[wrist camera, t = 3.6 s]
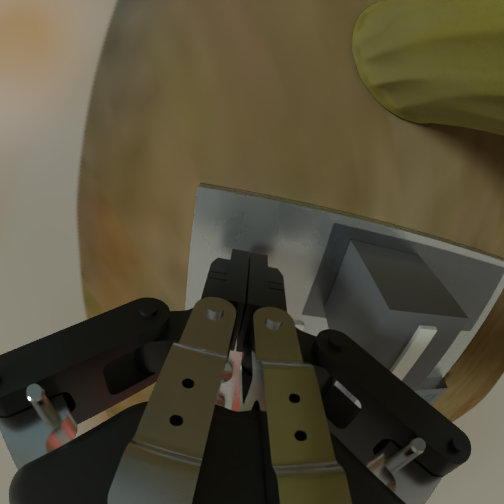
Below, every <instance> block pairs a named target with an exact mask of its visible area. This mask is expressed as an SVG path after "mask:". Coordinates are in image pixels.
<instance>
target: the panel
mask: <svg viewBox="0 0 504 504" xmlns="http://www.w3.org/2000/svg"><path fill="white" fill-rule="evenodd" d="M350 240H354V241H358V242H363V243H367V244H372V245H376V246H381V247H385V248H389V249H394V250H398V251H402V252H407V253H411V254H415V255H419V256H420V257H421V258H422V260H423V261H424V262H425V263H426V264H427V265H428V267H429V268H430V269H431V270H432V271H433V273H434V274H435V275H436V276H437V277H438V279H439V280H440V281H441V282H442V284H443V285H444V286H445V287H446V289H447V290H448V291H449V293H450V294H451V295H452V296H453V298H454V299H455V300H456V302H457V303H458V304H459V306H460V307H461V308H462V310H463V311H464V312H465V314H466V315H467V316H468V318H469V319H468V321H467V322H466V324H465V325H464V327H463V328H462V330H461V331H460V333H459V334H458V336H457V337H456V339H455V340H454V342H453V343H452V345H451V346H450V347H449V349H448V350H447V352H446V353H445V354H444V356H443V357H442V358H441V360H440V361H439V362H438V364H437V365H436V366H435V368H434V369H433V370H432V371H431V373H430V374H429V375H428V376H427V378H426V379H425V380H424V381H423V383H422V384H421V385H420V386H414V387H410V388H411V389H412V390H413V391H415V392H416V393H417V394H418V395H419V396H421V397H422V398H423V399H424V400H425V401H427V402H428V403H429V404H430V405H431V406H432V405H433V403H434V402H435V401H436V400H437V399H438V398H439V397H440V396H441V395H442V394H443V393H444V392H445V390H446V389H447V388H448V387H447V385H446V383H445V381H444V379H443V377H444V376H445V375H446V373H447V372H448V371H449V370H450V368H451V367H452V366H453V364H454V363H455V362H456V361H457V359H458V358H459V357H460V355H461V354H462V353H463V351H464V350H465V349H466V347H467V346H468V344H469V343H470V341H471V340H472V339H473V337H474V336H475V334H476V333H477V331H478V330H479V328H480V327H481V325H482V324H483V322H484V321H485V319H486V317H487V316H488V314H489V312H490V311H491V309H492V308H493V306H494V304H495V302H496V301H497V299H498V297H499V295H500V294H501V292H502V290H503V288H504V258H501V257H498V256H495V255H492V254H489V253H486V252H483V251H480V250H477V249H474V248H471V247H468V246H465V245H462V244H459V243H456V242H452V241H449V240H446V239H443V238H439V237H436V236H433V235H429V234H426V233H422V232H419V231H415V230H412V229H408V228H405V227H401V226H397V225H394V224H390V223H386V222H382V221H379V220H375V219H371V218H367V217H363V216H359V215H355V214H351V213H347V212H342V211H338V210H334V209H330V208H325V207H321V206H317V205H312V204H308V203H303V202H298V201H294V200H289V199H284V198H279V197H274V196H269V195H264V194H259V193H254V192H249V191H243V190H238V189H232V188H227V187H221V186H215V185H209V184H203V183H200V184H199V186H198V188H197V195H196V203H195V211H194V220H193V228H192V237H191V247H190V257H189V268H188V279H187V291H186V304H185V310H189V309H191V308H194V305H195V304H196V302H197V301H199V300H200V299H201V296H202V293H203V289H204V286H205V282H206V279H207V275H208V272H209V269H210V265H211V263H212V262H213V261H214V260H215V259H217V258H223V259H229V260H230V259H231V254H232V248H233V249H238V250H243V251H249V255H250V252H254V253H260V254H265V255H268V267H272V268H278V270H279V271H280V272H281V274H282V275H283V278H284V287H285V296H286V305H287V313H288V314H289V315H290V316H291V317H292V319H293V321H294V324H295V327H296V328H298V329H299V330H301V331H303V332H306V333H308V334H311V335H314V336H317V335H318V333H319V332H321V331H323V330H326V329H329V327H328V323H327V319H326V316H325V312H324V307H325V305H326V302H327V300H328V298H329V295H330V293H331V290H332V288H333V285H334V283H335V280H336V277H337V275H338V272H339V270H340V267H341V264H342V262H343V259H344V256H345V254H346V251H347V248H348V245H349V243H350ZM236 344H237V340H236ZM241 360H242V352H237V351H236V345H235V349H234V351H231V350H230V354H229V359H228V361H227V363H226V364H225V369H224V373H223V377H222V382H221V386H220V390H219V395H218V399H217V403H216V404H217V405H219V406H222V407H225V408H227V409H230V410H231V407H232V402H233V401H234V400H235V399H236V398H237V397H238V396H240V386H239V367H240V364H241ZM334 385H335V386H336V387H337V388H338V389H339V390H341V391H342V392H343V393H344V394H345V395H346V396H347V397H348V398H349V399H350V400H351V401H353V402H354V403H355V404H356V405H357V406H358V407H359V408H361V404H360V402H359V400H358V399H357V398H356V397H354V396H353V395H352V394H351V393H350V392H349V391H348V390H347V389H346V388H345V387H343V386H342V385H341V384H340V383H339V382H338V381H336V383H335V384H334Z"/></svg>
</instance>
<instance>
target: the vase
mask: <svg viewBox="0 0 504 504" xmlns="http://www.w3.org/2000/svg"><path fill="white" fill-rule="evenodd" d="M352 52H353V58H354V61H355V65H356V68H357V70H358V73H359V75H360V77H361V79H362V81H363V83H364V84H365V86H366V87H367V89H368V90H369V92H370V93H371V94H372V95H373V96H374V98H375V99H376V100H377V101H378V102H379V103H380V104H381V105H382V106H384V107H385V108H386V109H387V110H389V111H390V112H392V113H393V114H395V115H397V116H398V117H400V118H403V119H405V120H408V121H412V122H415V123H420V124H427V123H435V124H443V125H450V126H458V127H465V128H471V129H476V130H481V131H485V132H490V133H494V134H498V135H502V136H504V0H384V1H381V2H378V3H375V4H373V5H371V6H370V7H368V8H367V9H366V10H364V11H363V12H362V13H361V15H360V16H359V18H358V20H357V22H356V24H355V27H354V31H353V36H352Z"/></svg>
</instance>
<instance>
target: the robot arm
mask: <svg viewBox="0 0 504 504" xmlns="http://www.w3.org/2000/svg"><path fill="white" fill-rule="evenodd" d="M236 340H237V344H236ZM235 345H236V351H237V352H242V360H241V364H240V367H239V386H240V411H239V412H238V411H233V410H230V409H227V408H225V407H222V406H219V405H217V404H216V403H217V399H218V395H219V390H220V386H221V382H222V377H223V373H224V369H225V364H226V363H227V361H228V359H229V354H230V350H231V351H234V349H235ZM156 381H157V382H156ZM336 381H338V382H339V383H340V384H341V385H342V386H343V387H345V388H346V389H347V390H348V391H349V392H350V393H351V394H352V395H353V396H354V397H356V398H357V399H358V400H359V402H360V404H361V408H359V407H358V406H357V405H356V404H355V403H354V402H353V401H351V400H350V399H349V398H348V397H347V396H346V395H345V394H344V393H343V392H342V391H341V390H339V389H338V388H337V387H336V386H335V385H334V384H335V383H336ZM155 382H156V384H155V386H154V389H153V391H152V394H151V396H150V398H149V401H147V402H142V403H139V404H136V405H133V406H131V407H129V408H127V409H125V410H123V411H121V412H120V413H118V414H116V415H115V416H113V417H111V418H110V419H108V420H107V421H105V422H103V423H101V424H100V425H98V426H96V427H94V428H93V429H91V430H89V431H87V432H86V433H84V434H82V435H80V436H78V437H77V438H75V439H74V437H75V436H76V433H77V424H79V423H81V422H83V421H85V420H87V419H89V418H91V417H93V416H95V415H97V414H99V413H100V412H102V411H104V410H106V409H108V408H110V407H112V406H114V405H115V404H117V403H119V402H121V401H123V400H125V399H126V398H128V397H130V396H132V395H134V394H135V393H137V392H139V391H141V390H143V389H144V388H146V387H148V386H150V385H151V384H153V383H155ZM0 431H1V433H2V436H3V438H4V440H5V443H6V445H7V447H8V450H9V452H10V454H11V457H12V459H13V461H14V463H15V465H16V467H17V469H18V471H17V473H16V474H15V476H14V477H13V480H12V482H11V485H10V489H9V502H10V504H425V503H426V501H427V500H428V499H429V497H430V496H431V494H432V493H433V491H434V490H435V488H436V486H437V485H438V483H439V482H440V480H441V478H442V477H443V476H445V475H446V474H448V473H450V472H451V471H453V470H454V469H455V468H457V467H458V466H460V465H461V464H463V463H464V462H466V461H467V459H468V458H469V456H470V454H471V445H470V441H469V439H468V437H467V436H466V434H465V433H464V432H463V431H461V430H460V429H459V428H458V427H457V426H455V425H454V424H453V423H452V422H451V421H449V420H448V419H447V418H446V417H445V416H443V415H442V414H441V413H440V412H439V411H437V410H436V409H435V408H434V407H433V406H431V405H430V404H429V403H428V402H427V401H425V400H424V399H423V398H422V397H421V396H419V395H418V394H417V393H416V392H415V391H413V390H412V389H411V388H410V387H409V386H407V385H406V384H405V383H404V382H402V381H401V380H400V379H399V378H398V377H396V376H395V375H394V374H393V373H392V372H390V371H389V370H388V369H387V368H386V367H385V366H383V365H382V364H381V363H380V362H379V361H377V360H376V359H375V358H374V357H373V356H371V355H370V354H369V353H368V352H367V351H365V350H364V349H363V348H362V347H361V346H359V345H358V344H357V343H356V342H355V341H353V340H352V339H351V338H350V337H349V336H347V335H346V334H344V333H343V332H340V331H338V330H333V329H326V330H323V331H321V332H319V333H318V335H317V336H314V335H311V334H308V333H306V332H303V331H301V330H299V329H298V328H296V327H295V324H294V321H293V319H292V317H291V316H290V315H289V314H288V313H287V305H286V296H285V287H284V278H283V275H282V274H281V272H280V271H279V270H278V268H272V267H268V255H265V254H260V253H254V252H250V255H249V251H243V250H238V249H233V248H232V254H231V259H230V260H229V259H223V258H217V259H215V260H214V261H213V262H212V263H211V265H210V269H209V272H208V275H207V279H206V282H205V286H204V289H203V293H202V296H201V299H200V300H199V301H197V302H196V304H195V305H194V308H191V309H189V310H185V311H170V310H169V307H168V306H167V305H166V304H165V303H164V302H162V301H161V300H158V299H155V298H140V299H137V300H134V301H132V302H129V303H127V304H124V305H122V306H120V307H117V308H115V309H112V310H110V311H107V312H105V313H102V314H100V315H97V316H95V317H93V318H90V319H88V320H85V321H83V322H80V323H78V324H76V325H73V326H71V327H68V328H66V329H63V330H61V331H58V332H56V333H53V334H51V335H49V336H46V337H44V338H41V339H39V340H36V341H34V342H31V343H29V344H26V345H24V346H21V347H19V348H17V349H14V350H12V351H9V352H7V353H4V354H2V355H0Z"/></svg>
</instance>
